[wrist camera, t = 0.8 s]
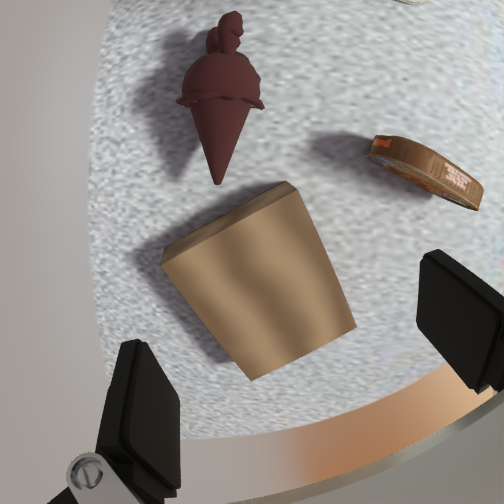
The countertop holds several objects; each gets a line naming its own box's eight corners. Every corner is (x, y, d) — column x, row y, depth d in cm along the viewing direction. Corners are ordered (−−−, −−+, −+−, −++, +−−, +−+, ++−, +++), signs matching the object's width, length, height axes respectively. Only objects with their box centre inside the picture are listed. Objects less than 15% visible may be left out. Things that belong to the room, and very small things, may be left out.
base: (286, 180, 31) (297, 189, 27) (344, 308, 38) (356, 327, 35) (164, 248, 32) (160, 265, 28) (246, 359, 39) (250, 381, 36)
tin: (352, 153, 31) (396, 166, 23) (362, 126, 30) (409, 132, 22) (443, 200, 35) (488, 222, 27) (452, 178, 34) (498, 196, 26)
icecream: (276, 189, 25) (283, 13, 20) (182, 192, 22) (193, -3, 17) (243, 180, 31) (249, 36, 26) (167, 182, 28) (175, 28, 23)
